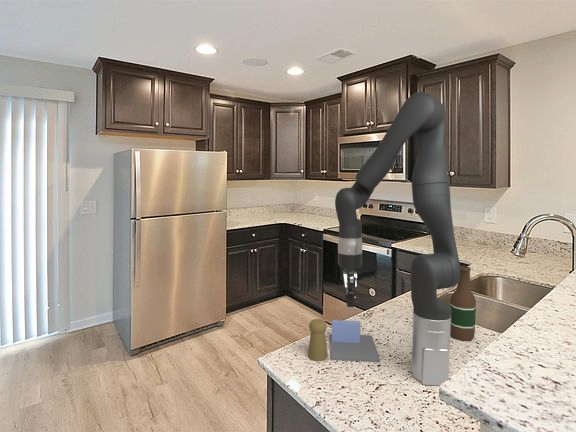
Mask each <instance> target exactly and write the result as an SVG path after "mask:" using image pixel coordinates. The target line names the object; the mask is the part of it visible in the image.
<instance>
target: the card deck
mask: <svg viewBox="0 0 576 432" xmlns="http://www.w3.org/2000/svg"><path fill="white" fill-rule="evenodd" d="M331 334H332V342H347V343H360V335H361V321H360V320H342V319H331Z"/></svg>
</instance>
